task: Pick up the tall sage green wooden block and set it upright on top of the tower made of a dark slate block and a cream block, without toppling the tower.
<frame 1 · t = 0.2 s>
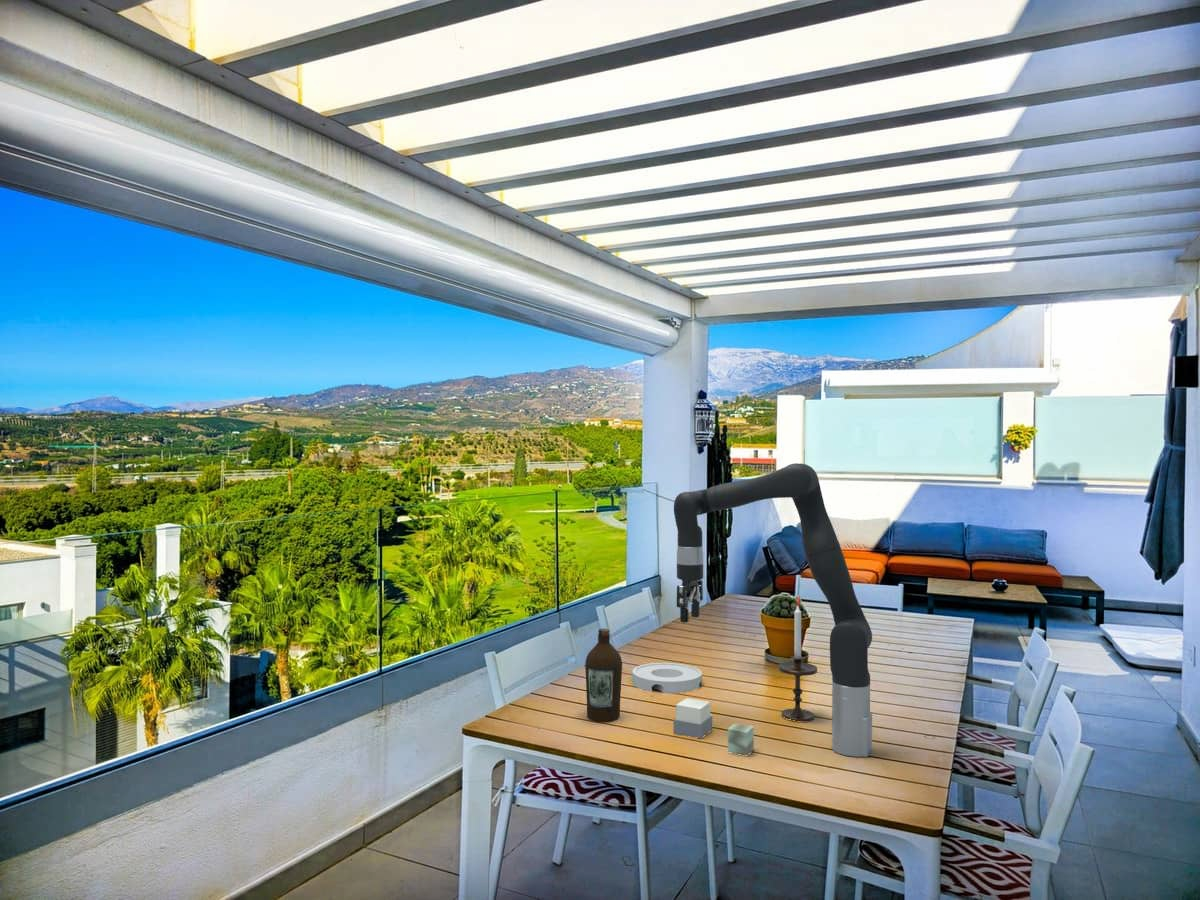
hand: (690, 619, 219), 29 cm above the table, tool pointing down, fingers open, 8 cm apart
sage block: (740, 751, 196), on the table
olive oil: (603, 717, 222), on the table
candlestick: (797, 717, 223), on the table
cream top block: (693, 718, 210), point 4 cm above the table
ashtray: (666, 684, 257), on the table
slate base block: (693, 732, 210), on the table
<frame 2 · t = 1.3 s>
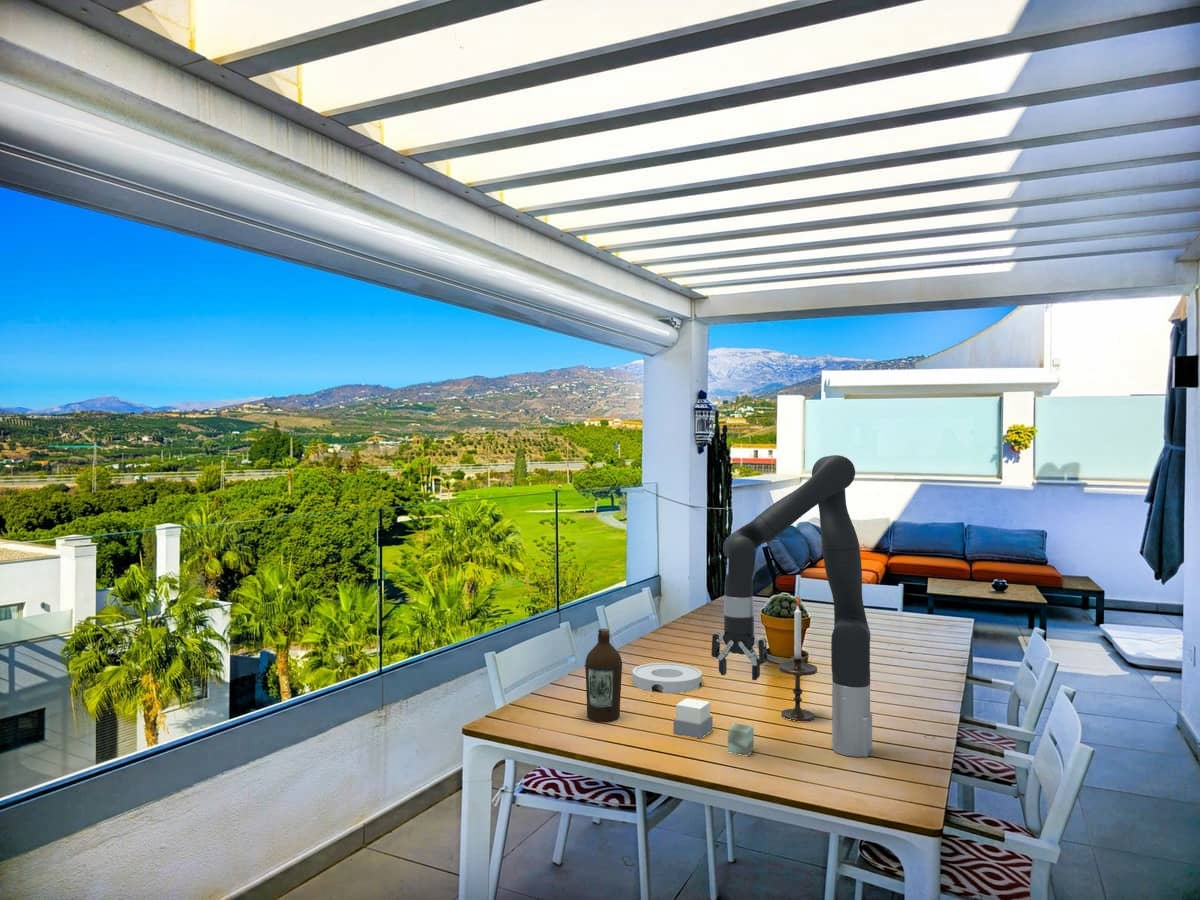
hand: (739, 677, 197), 18 cm above the table, tool pointing down, fingers open, 8 cm apart
nothing on the table moved.
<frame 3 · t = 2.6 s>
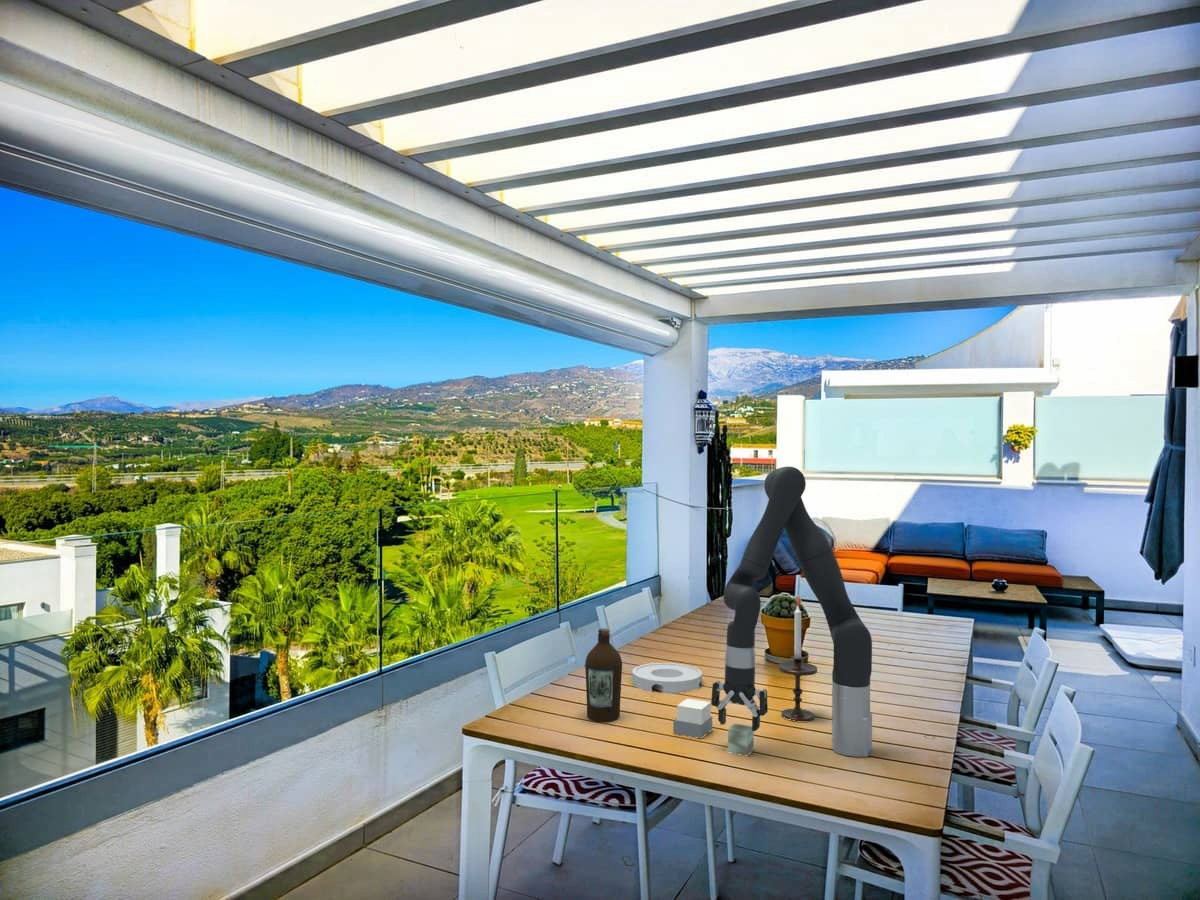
hand: (738, 727, 197), 6 cm above the table, tool pointing down, fingers open, 8 cm apart
cream top block: (694, 718, 210), point 4 cm above the table, touching slate base block
slate base block: (692, 733, 210), on the table, touching cream top block
everything else where it was.
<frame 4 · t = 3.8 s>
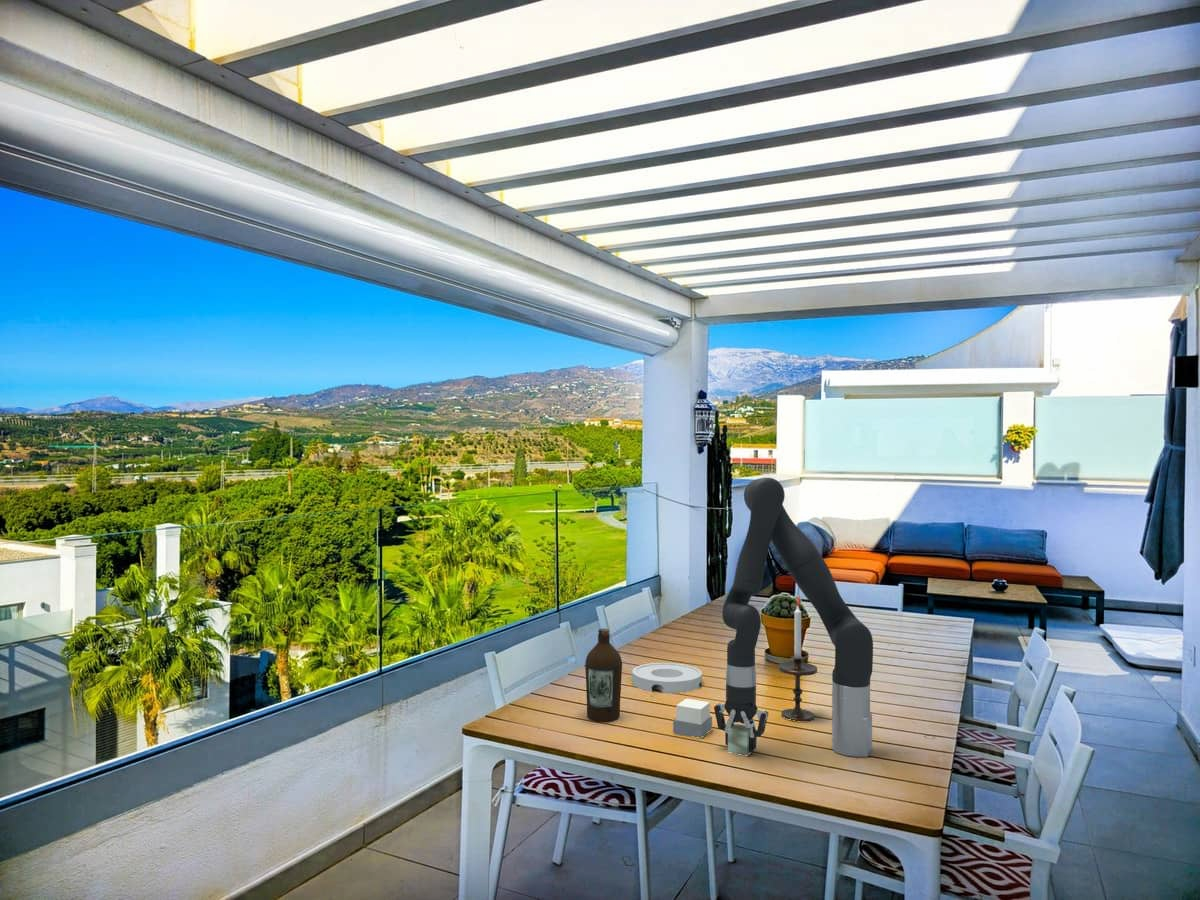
hand: (740, 748, 196), 1 cm above the table, tool pointing down, fingers closed on sage block, 5 cm apart
sage block: (740, 751, 196), on the table, touching gripper
everything else where it was.
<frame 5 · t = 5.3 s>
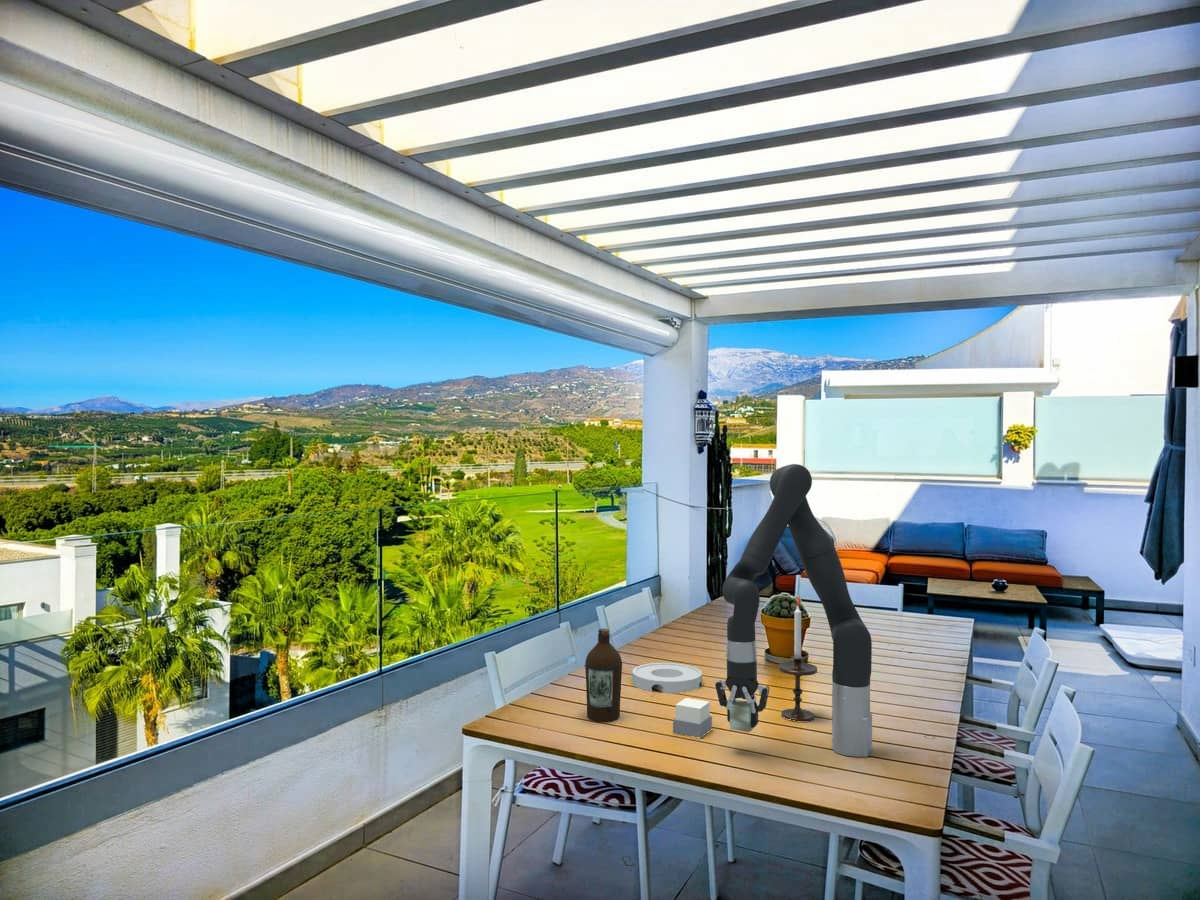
hand: (742, 724, 196), 7 cm above the table, tool pointing down, fingers closed on sage block, 5 cm apart
sage block: (742, 727, 196), point 6 cm above the table, touching gripper
everything else where it was.
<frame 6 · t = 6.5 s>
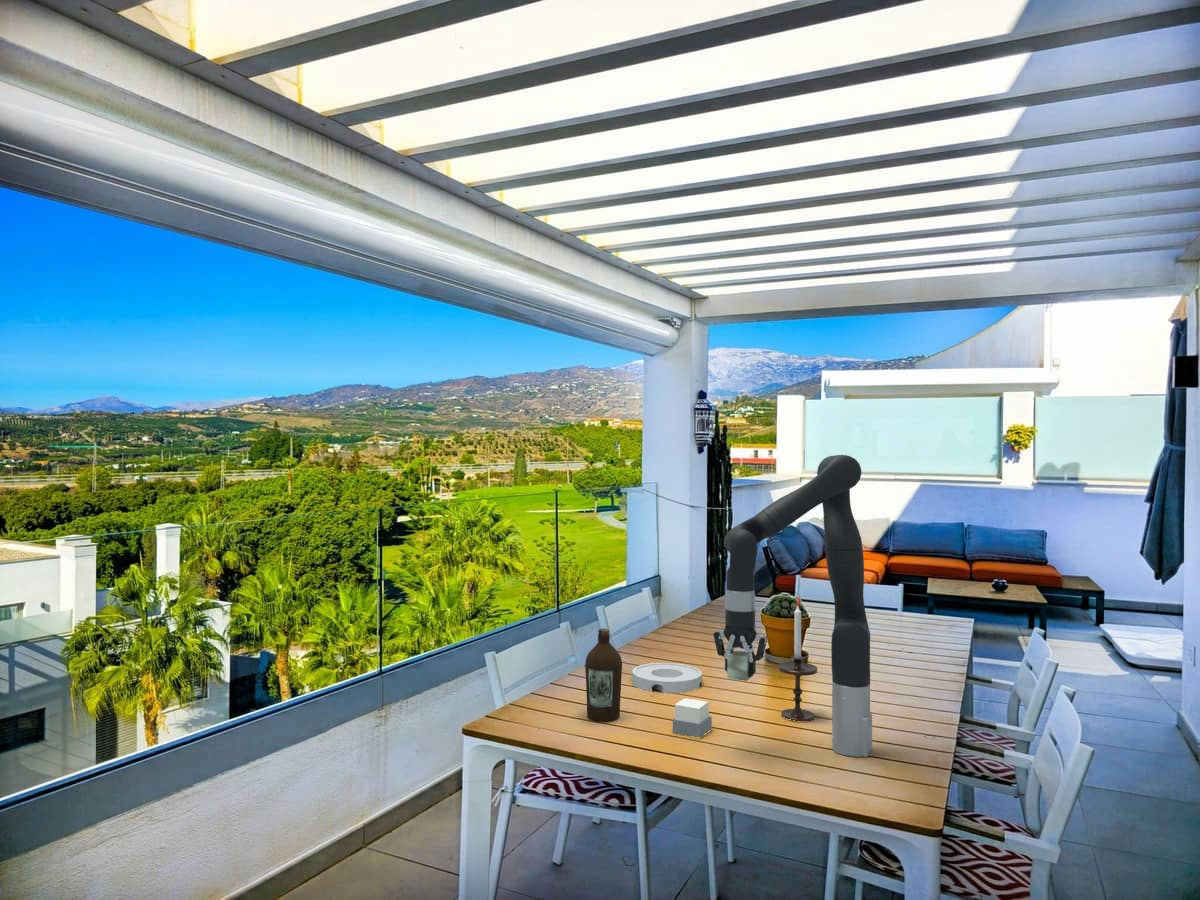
hand: (740, 674, 197), 19 cm above the table, tool pointing down, fingers closed on sage block, 5 cm apart
sage block: (740, 677, 197), point 19 cm above the table, touching gripper
everything else where it was.
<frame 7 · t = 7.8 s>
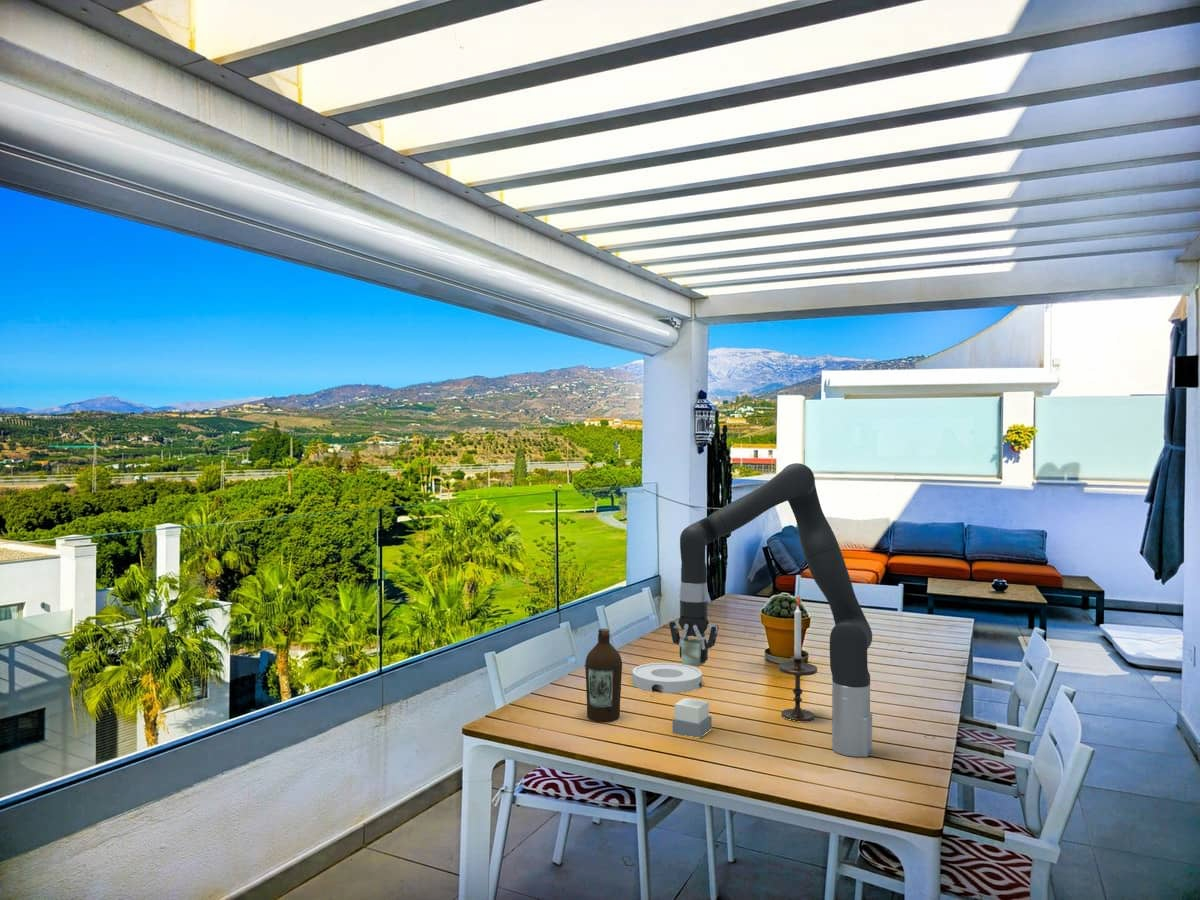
hand: (693, 661, 210), 19 cm above the table, tool pointing down, fingers closed on sage block, 5 cm apart
sage block: (693, 663, 210), point 18 cm above the table, touching gripper
everything else where it was.
when the fingers open (10 cm above the table, at t = 11.0 s): sage block drops 1 cm, resting on cream top block.
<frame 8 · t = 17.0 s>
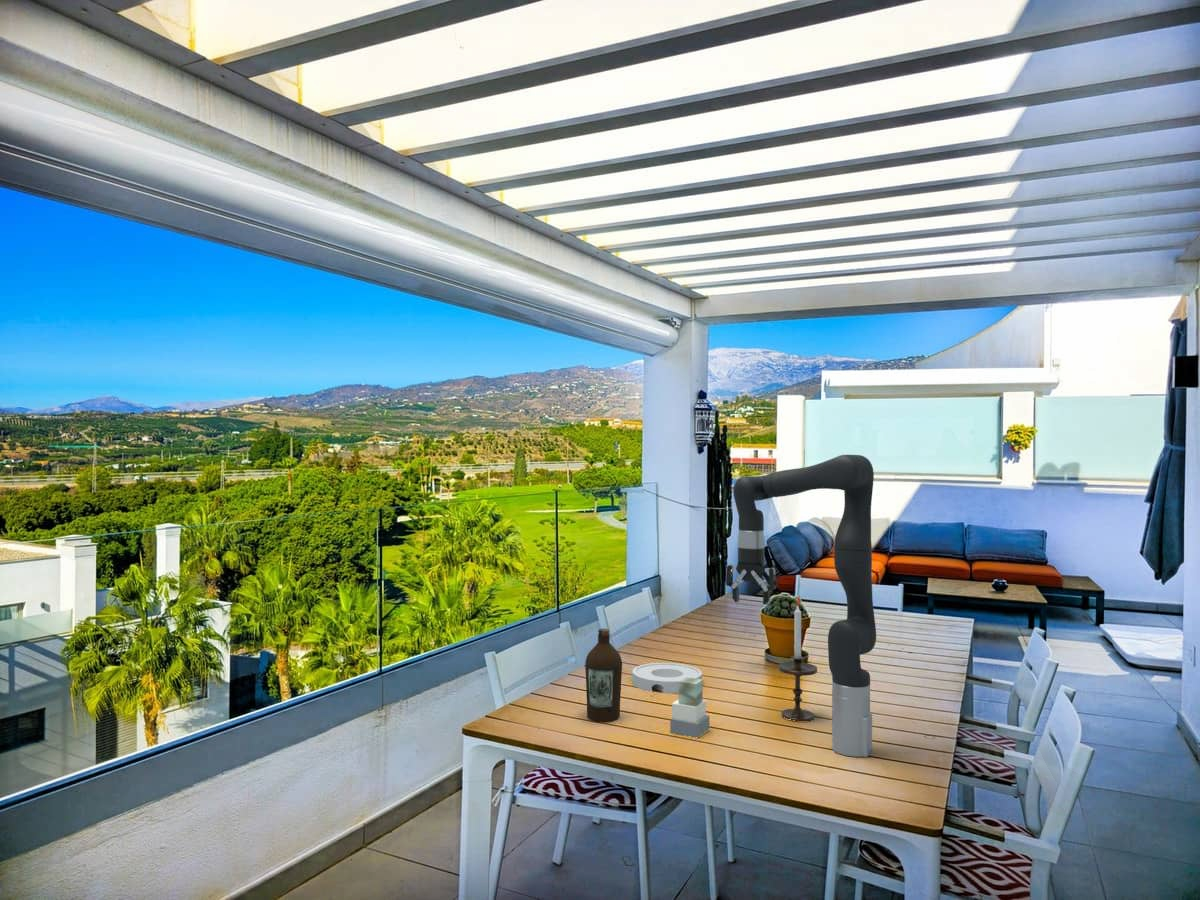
hand: (750, 602, 221), 33 cm above the table, tool pointing down, fingers open, 8 cm apart
sage block: (690, 702, 211), point 8 cm above the table, touching cream top block
cream top block: (688, 716, 211), point 4 cm above the table, touching sage block, slate base block
everything else where it was.
at the end: sage block 0.2 cm off-centre on the slate base block, point 8.0 cm above the slate base block's base; cream top block 0.6 cm off-centre on the slate base block, point 4.0 cm above the slate base block's base; sage block tilted 0° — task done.
